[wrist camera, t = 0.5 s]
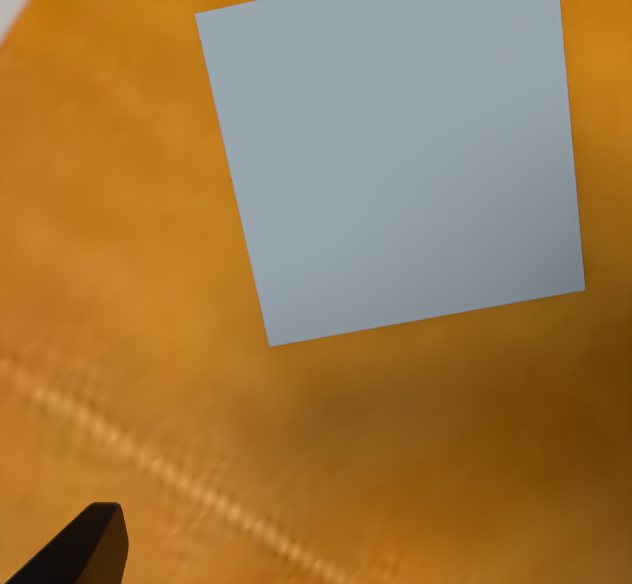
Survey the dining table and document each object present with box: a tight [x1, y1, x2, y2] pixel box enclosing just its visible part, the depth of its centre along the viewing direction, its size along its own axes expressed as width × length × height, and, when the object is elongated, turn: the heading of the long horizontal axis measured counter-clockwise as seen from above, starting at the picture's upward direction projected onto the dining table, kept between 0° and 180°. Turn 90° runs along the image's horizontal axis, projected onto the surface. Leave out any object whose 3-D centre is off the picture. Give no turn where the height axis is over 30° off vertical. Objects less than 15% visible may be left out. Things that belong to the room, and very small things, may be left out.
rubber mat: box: [195, 0, 585, 347], centre depth 21 cm, size 12×12×1 cm
